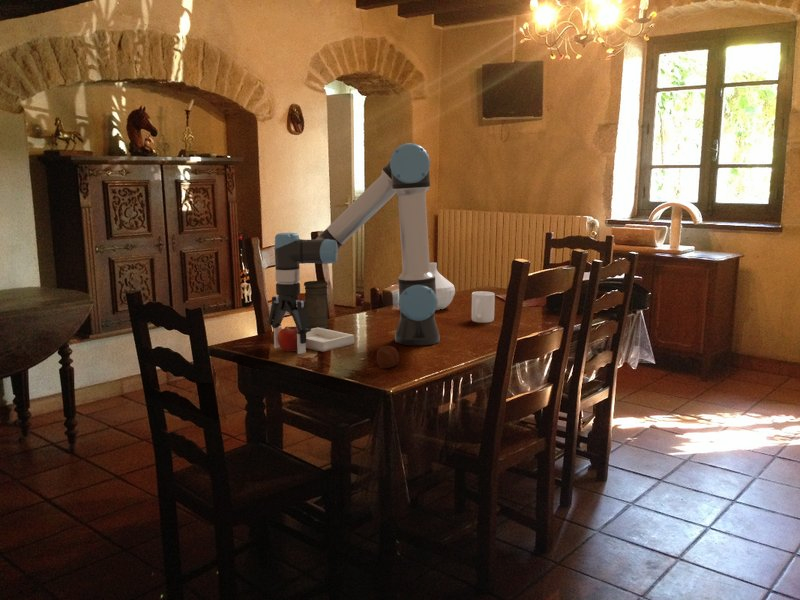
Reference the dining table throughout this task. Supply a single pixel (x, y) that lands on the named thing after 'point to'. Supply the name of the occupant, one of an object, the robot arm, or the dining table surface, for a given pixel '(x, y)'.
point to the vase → (442, 288)
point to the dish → (327, 339)
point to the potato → (387, 357)
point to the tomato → (288, 338)
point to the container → (316, 303)
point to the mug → (483, 306)
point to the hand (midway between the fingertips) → (289, 350)
